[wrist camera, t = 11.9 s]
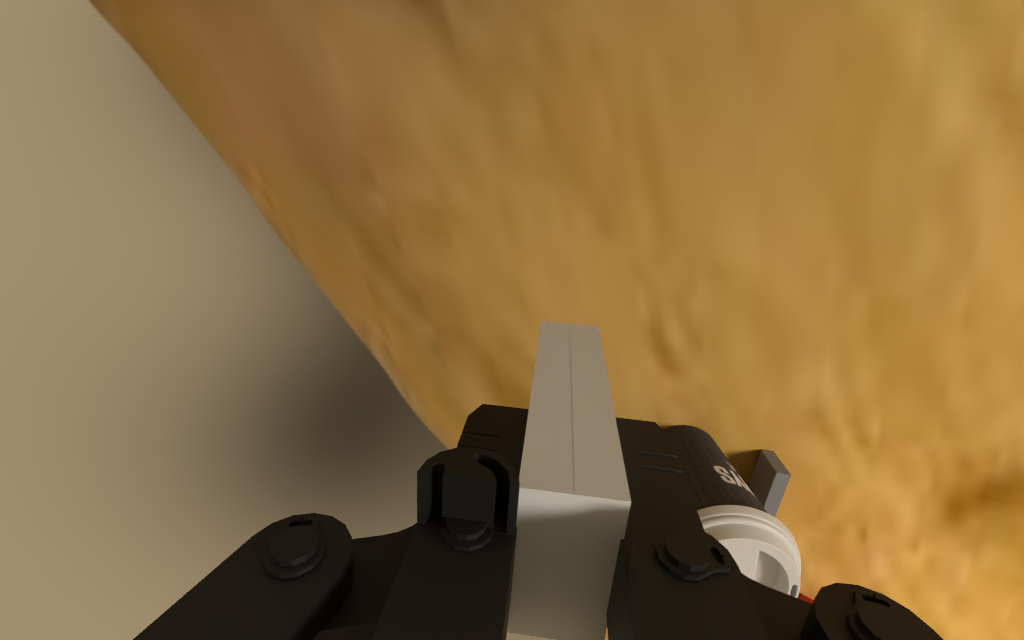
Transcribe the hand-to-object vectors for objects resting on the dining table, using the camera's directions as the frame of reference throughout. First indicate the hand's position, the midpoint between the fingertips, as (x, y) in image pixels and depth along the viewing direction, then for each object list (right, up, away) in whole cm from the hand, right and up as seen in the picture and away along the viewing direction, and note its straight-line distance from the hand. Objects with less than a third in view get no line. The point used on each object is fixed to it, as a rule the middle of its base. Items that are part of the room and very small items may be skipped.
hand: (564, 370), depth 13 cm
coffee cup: (+15, -11, +33) cm, 38 cm away
